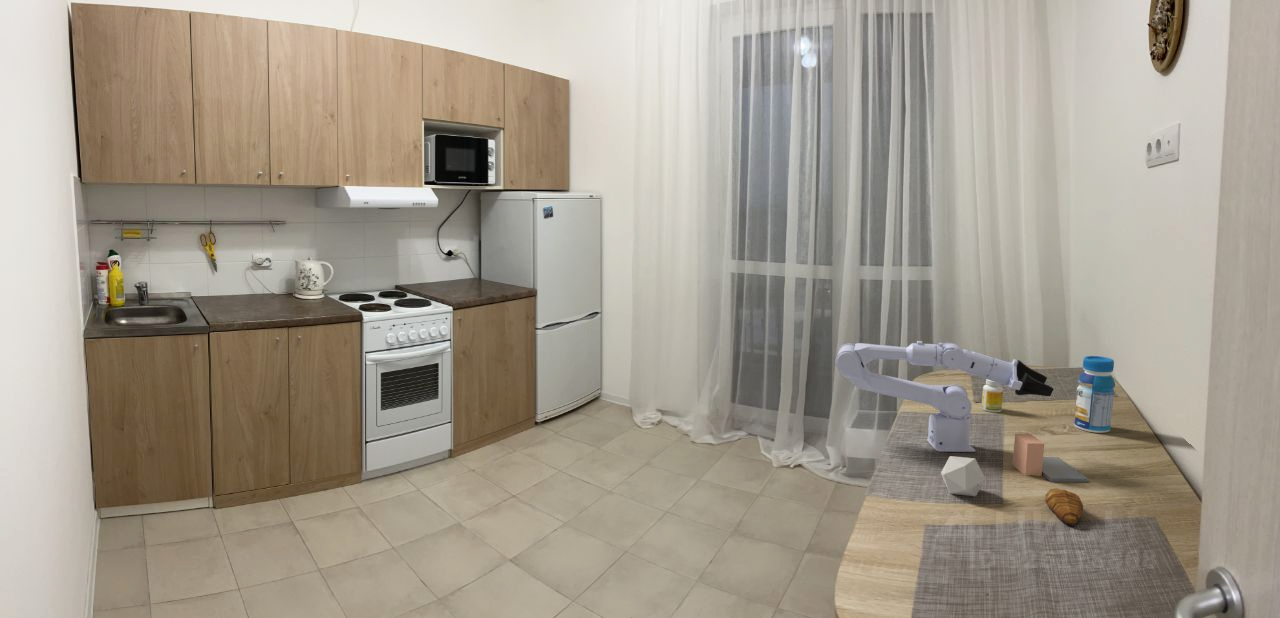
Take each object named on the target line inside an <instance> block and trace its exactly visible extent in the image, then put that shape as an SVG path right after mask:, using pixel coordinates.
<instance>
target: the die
mask: <svg viewBox="0 0 1280 618" xmlns="http://www.w3.org/2000/svg"><path fill="white" fill-rule="evenodd" d="M977 461H978V460H977V459H976V458H975V457H974V458H973V457H972V458H971V457H964V456H955V455H953V456H951V455H950V456H949V457H948V459H947V460H946V462H945V465H944V466H943V468H942V469H941V472H940V475H941V477H942V479H943V481H944V484H945V486H946V488H947V490H948V493H949V495H957V496H959V495H961V496H967V497H977V494H978V492H979V491H980V489H981V487H982V486H983V484H984V483H985V481H986V477H985V475H984V473H983V471H982V470H981V467H980V465H979V463H978V462H977Z"/></svg>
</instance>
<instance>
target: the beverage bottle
mask: <svg viewBox="0 0 1280 618" xmlns="http://www.w3.org/2000/svg"><path fill="white" fill-rule="evenodd" d="M1082 361H1083V362H1082V370H1083V372H1082V373H1081V374H1080V376H1079V378H1078V381H1077V382H1078V386H1077V388H1076V399H1075V400H1076V404H1075V413H1074V414H1075V415H1074V421H1073V425H1074V426H1075V427H1076V428H1077V429H1079V430H1081V431H1084V432H1089V433H1096V434H1105V433H1108V432H1110V431H1111V427H1112V417H1113V416H1112V415H1113V407H1114V400H1115V399H1114V398H1115V397H1116V396H1115V395H1116V392H1115V390H1114V388H1115V387H1116V383H1115V379H1114V377H1113V376H1112V374H1111V373H1113V371H1114V367H1115V366H1114V365H1115V362H1114V361H1115V360H1114V359H1113V358H1110V357H1107V356H1101V355H1100V356H1099V355H1087V356H1084V357H1083V360H1082Z"/></svg>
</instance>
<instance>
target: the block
mask: <svg viewBox="0 0 1280 618" xmlns="http://www.w3.org/2000/svg"><path fill="white" fill-rule="evenodd" d="M1013 444H1014V445H1013V456H1012V465H1013V467H1015V468H1016V469H1017V470H1018V471H1019V472H1020V473H1022V474H1023V476H1025V475H1028V477H1030V476H1029V475H1038V476H1037V477H1041V476H1043V475H1042V464H1043V457H1044V450H1045V443H1044V442H1043V441H1042V440H1040V439H1039V438H1037V437H1036V436H1034V435H1033V434H1032V433H1015V434H1014V443H1013Z"/></svg>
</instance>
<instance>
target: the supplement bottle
mask: <svg viewBox="0 0 1280 618" xmlns="http://www.w3.org/2000/svg"><path fill="white" fill-rule="evenodd" d="M981 396H982V397H981V410H983V411H985V412H989V413H1000V412H1002V410H1003V396H1004V388H1003V387H1002V384H1001V383H998V382H994V381H991V380H988V379H985V384H984V385H983V387H982V395H981Z"/></svg>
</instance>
